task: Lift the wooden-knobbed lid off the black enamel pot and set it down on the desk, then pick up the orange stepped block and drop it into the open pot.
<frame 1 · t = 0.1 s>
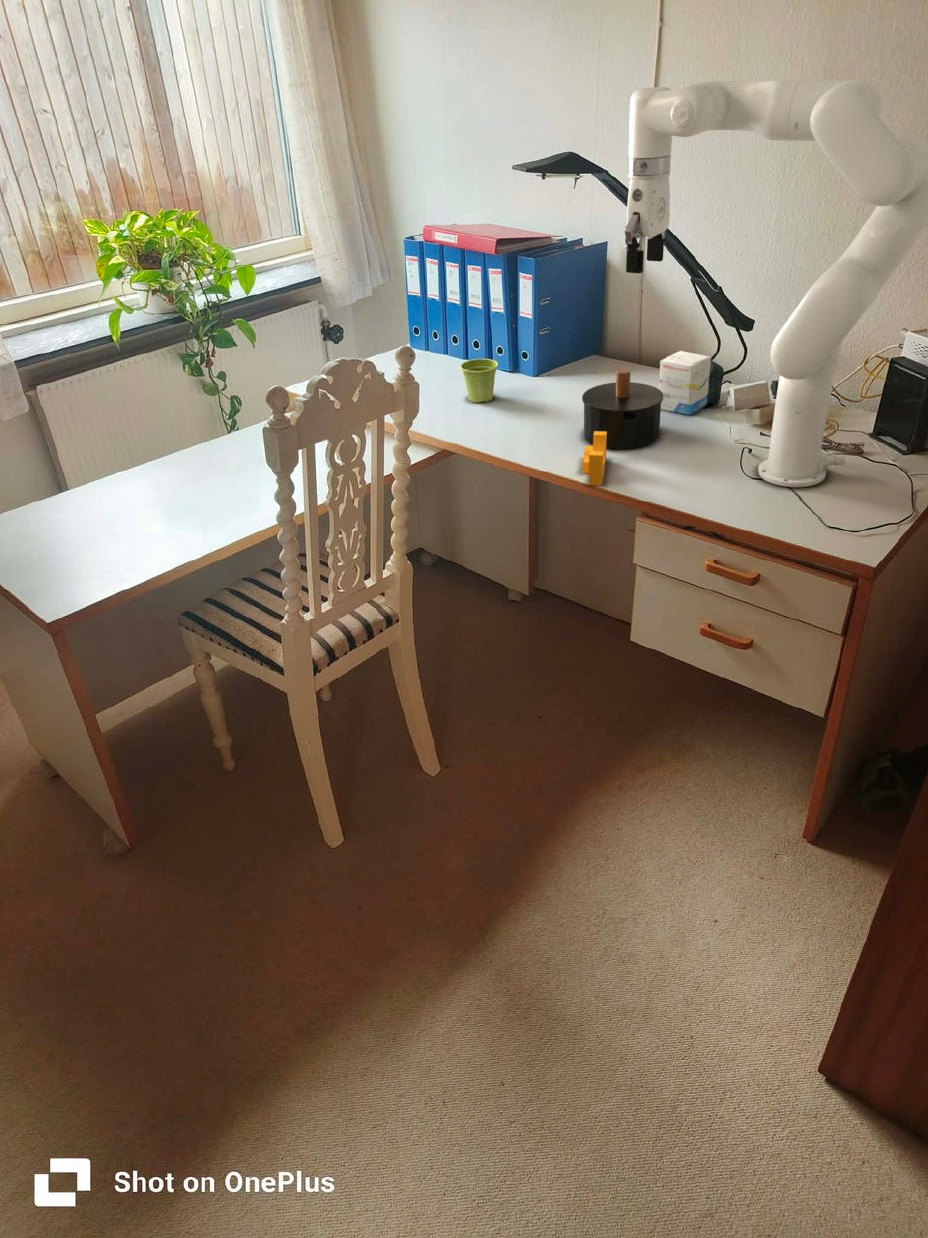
hand: (644, 266, 167), 37 cm above the table, tool pointing down, fingers open, 9 cm apart
ink box: (682, 407, 206), on the table
pot: (621, 435, 195), on the table
lid: (622, 398, 190), point 8 cm above the table, touching pot
orange stepped block: (593, 473, 180), on the table
plant pot: (481, 399, 220), on the table
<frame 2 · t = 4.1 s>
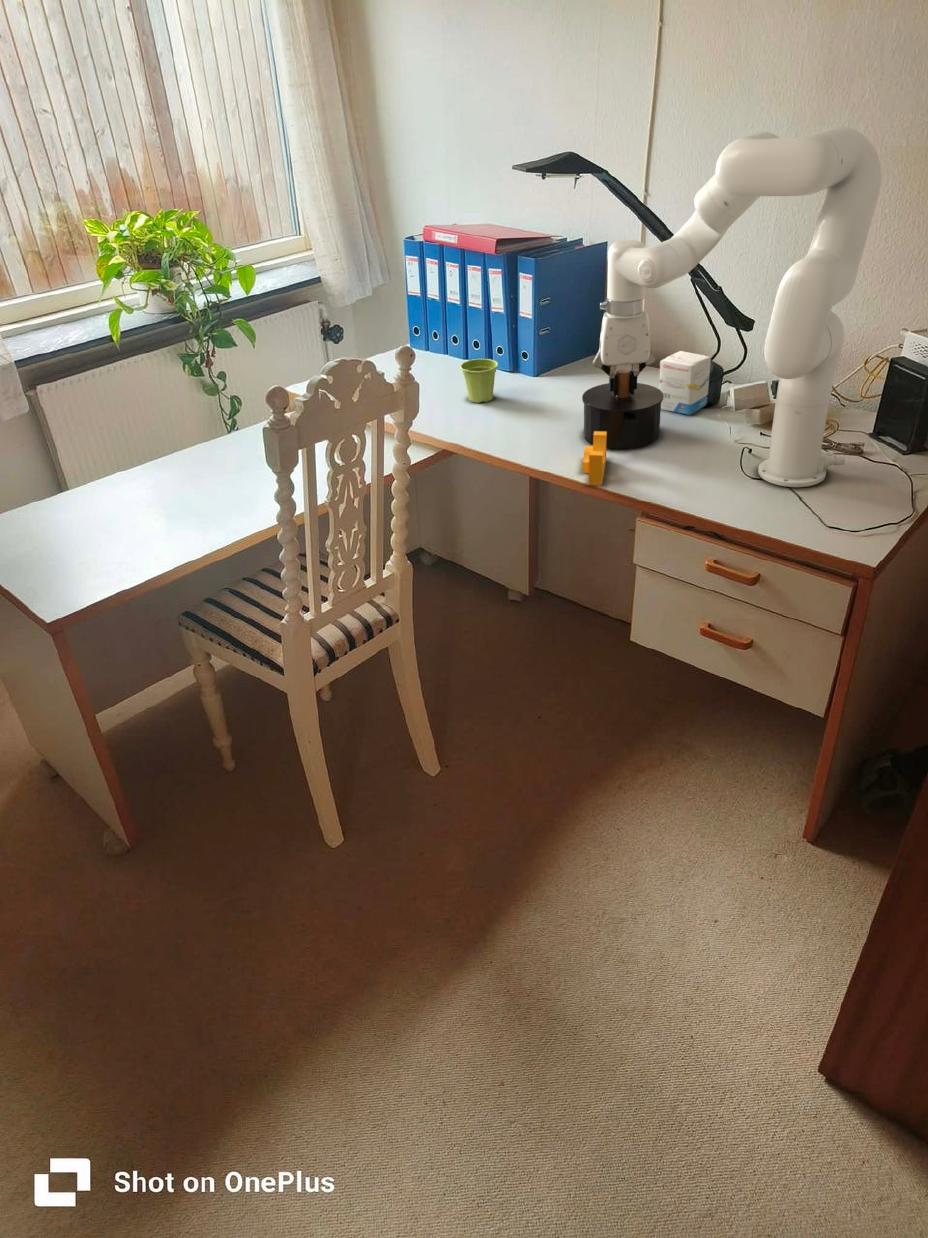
hand: (622, 392, 189), 10 cm above the table, tool pointing down, fingers closed on lid, 3 cm apart
lid: (622, 398, 190), point 9 cm above the table, touching gripper, pot
everything else where it was.
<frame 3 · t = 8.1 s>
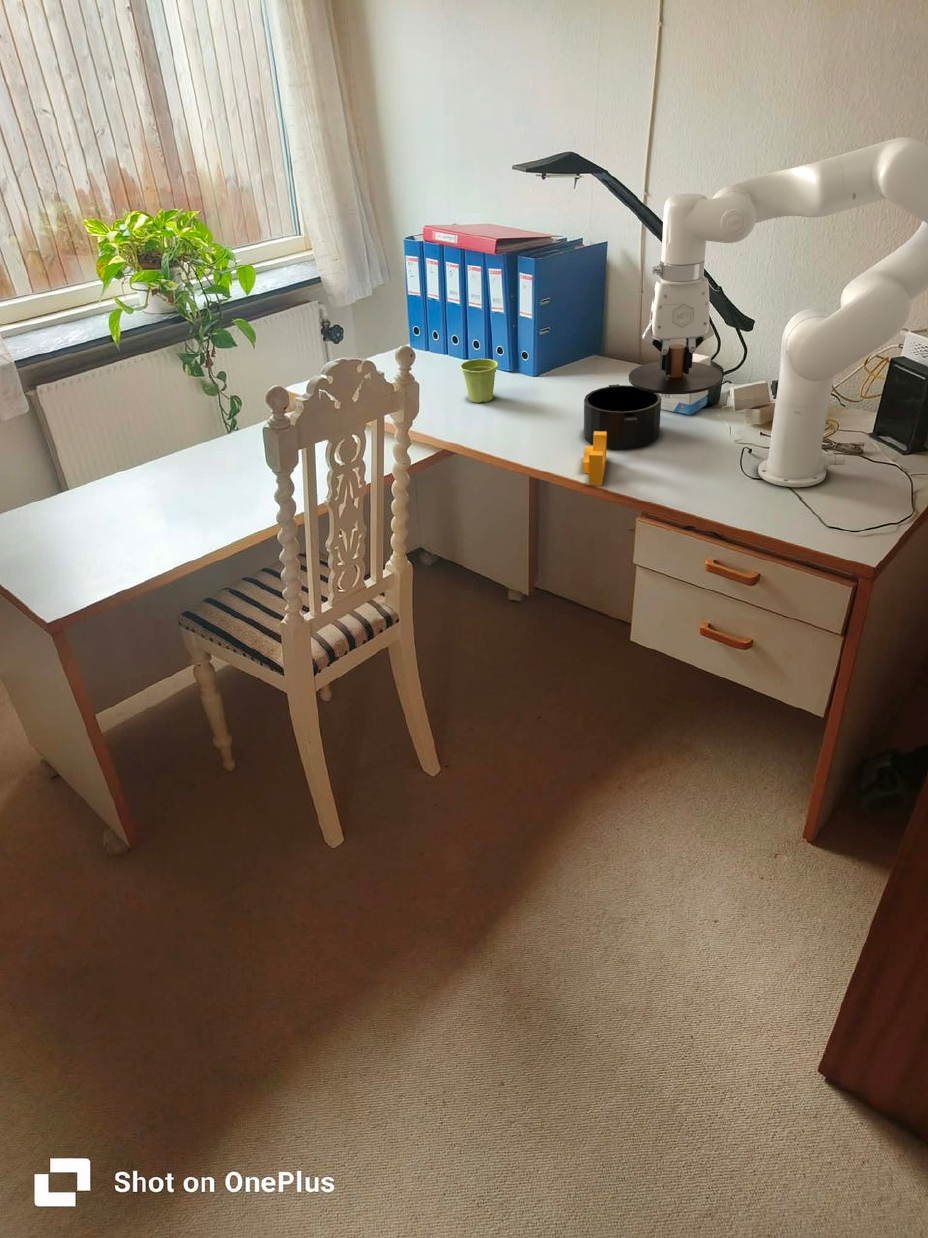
hand: (675, 371, 166), 21 cm above the table, tool pointing down, fingers closed on lid, 3 cm apart
lid: (674, 378, 166), point 20 cm above the table, touching gripper
everything else where it was.
when the fingers open (2 cm above the table, at t = 12.4 s): lid stays where it is, point 1 cm above the table.
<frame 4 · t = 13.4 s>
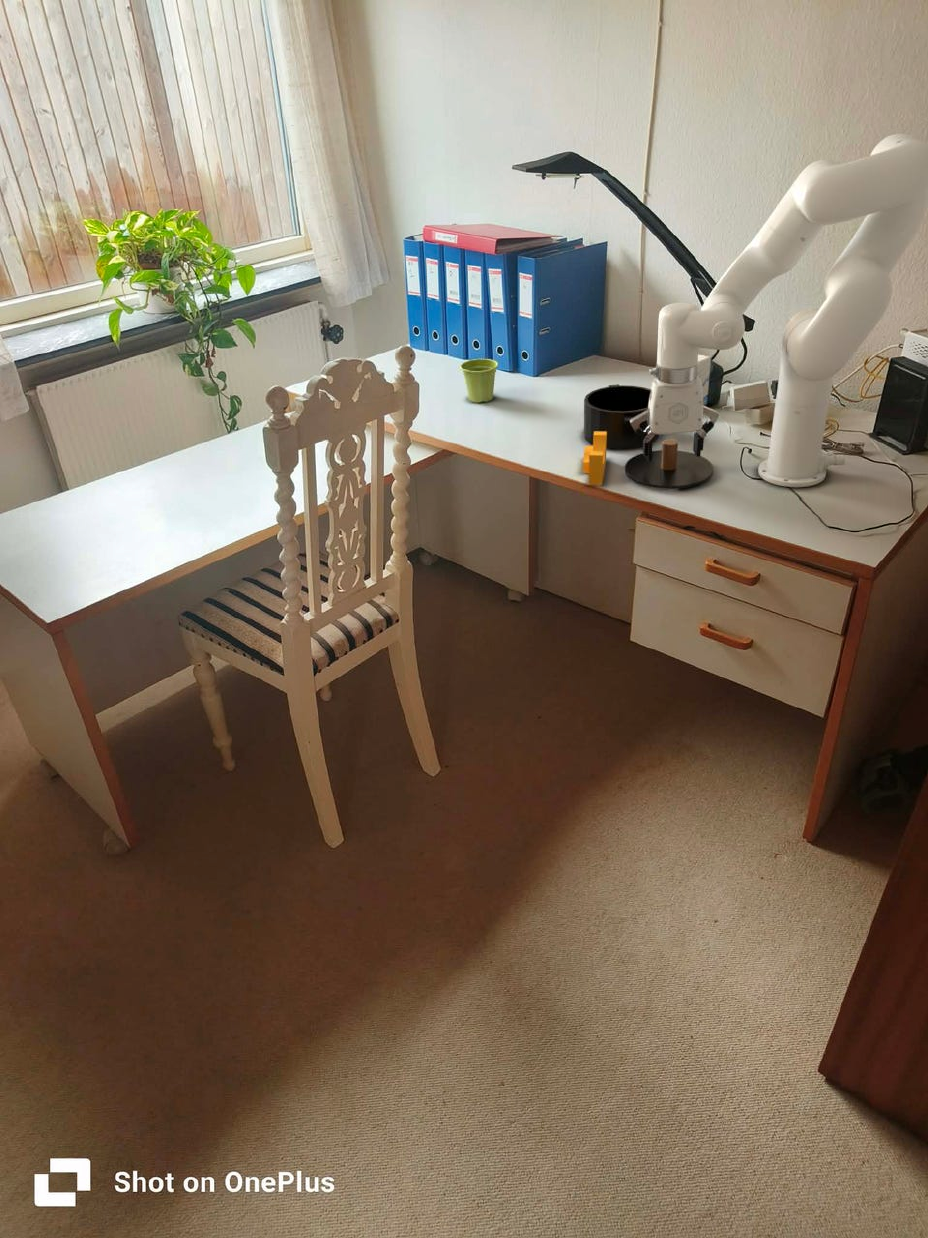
hand: (672, 456, 175), 4 cm above the table, tool pointing down, fingers open, 9 cm apart
lid: (668, 469, 177), point 1 cm above the table
everything else where it was.
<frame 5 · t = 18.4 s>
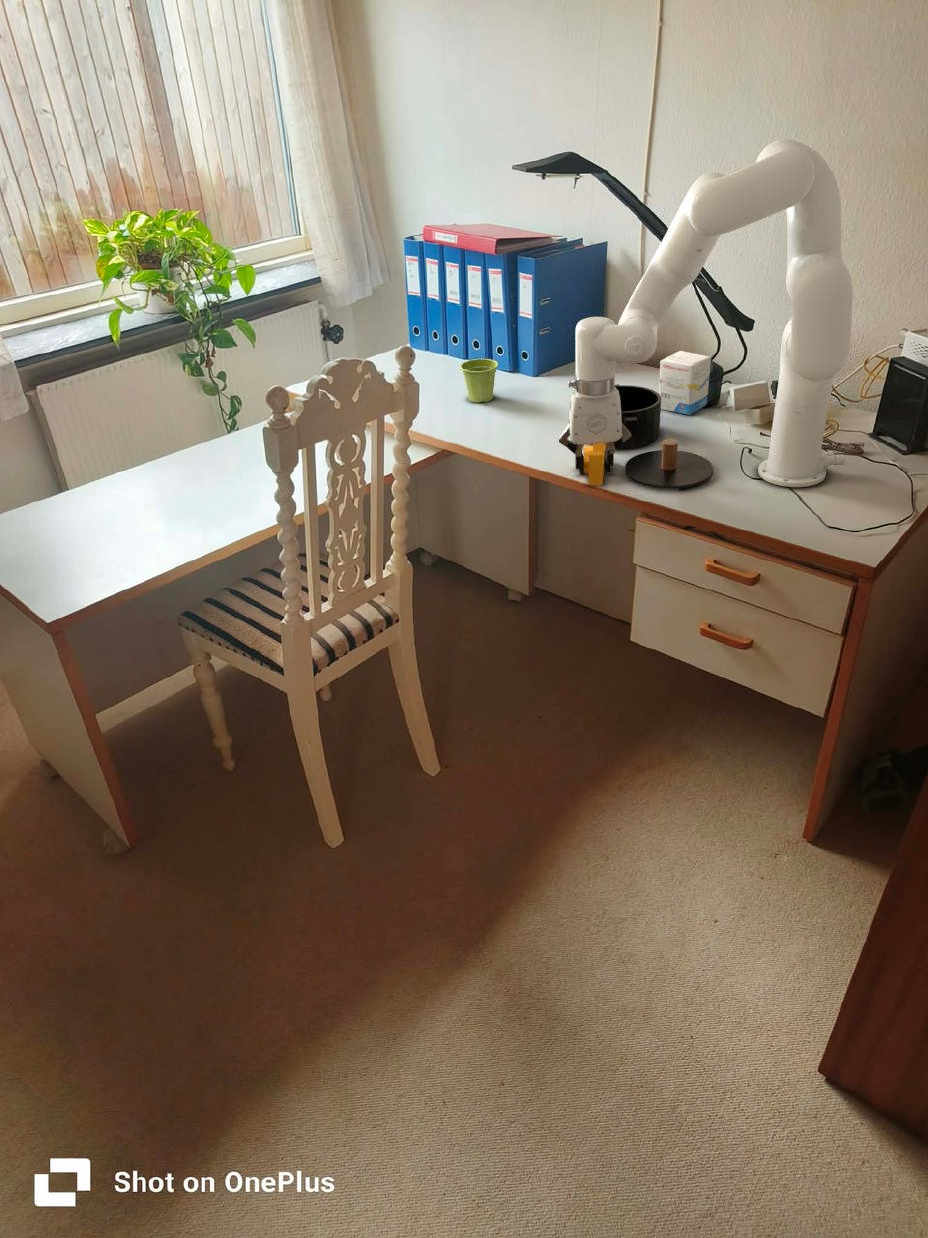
hand: (594, 469, 179), 1 cm above the table, tool pointing down, fingers closed on orange stepped block, 4 cm apart
orange stepped block: (593, 473, 180), on the table, touching gripper
everything else where it was.
when the fingers open (6 cm above the table, at t = 26.1 s): orange stepped block drops 5 cm, resting on pot.
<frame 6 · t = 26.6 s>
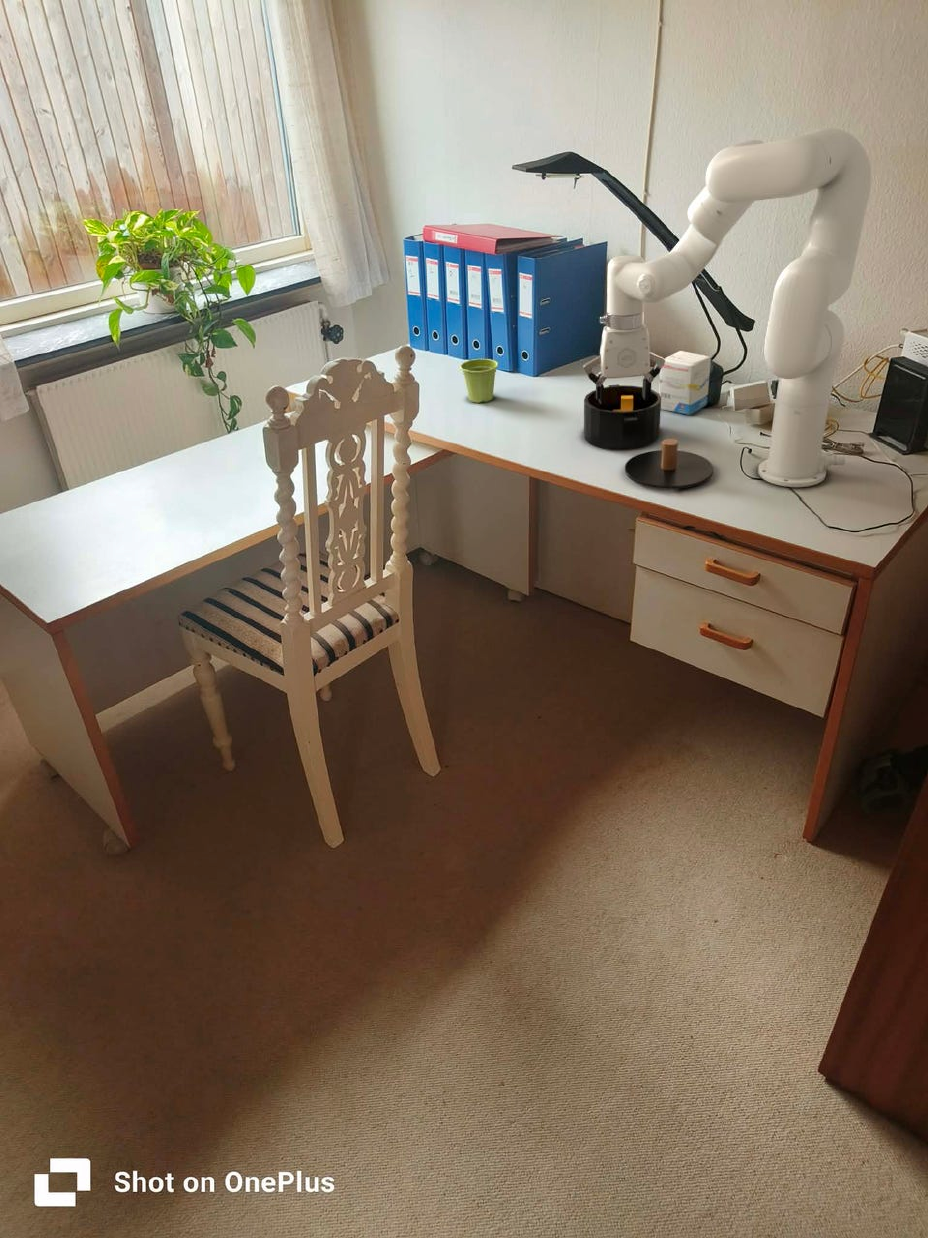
hand: (623, 400, 190), 8 cm above the table, tool pointing down, fingers open, 9 cm apart
orange stepped block: (622, 434, 194), resting on pot
everything else where it was.
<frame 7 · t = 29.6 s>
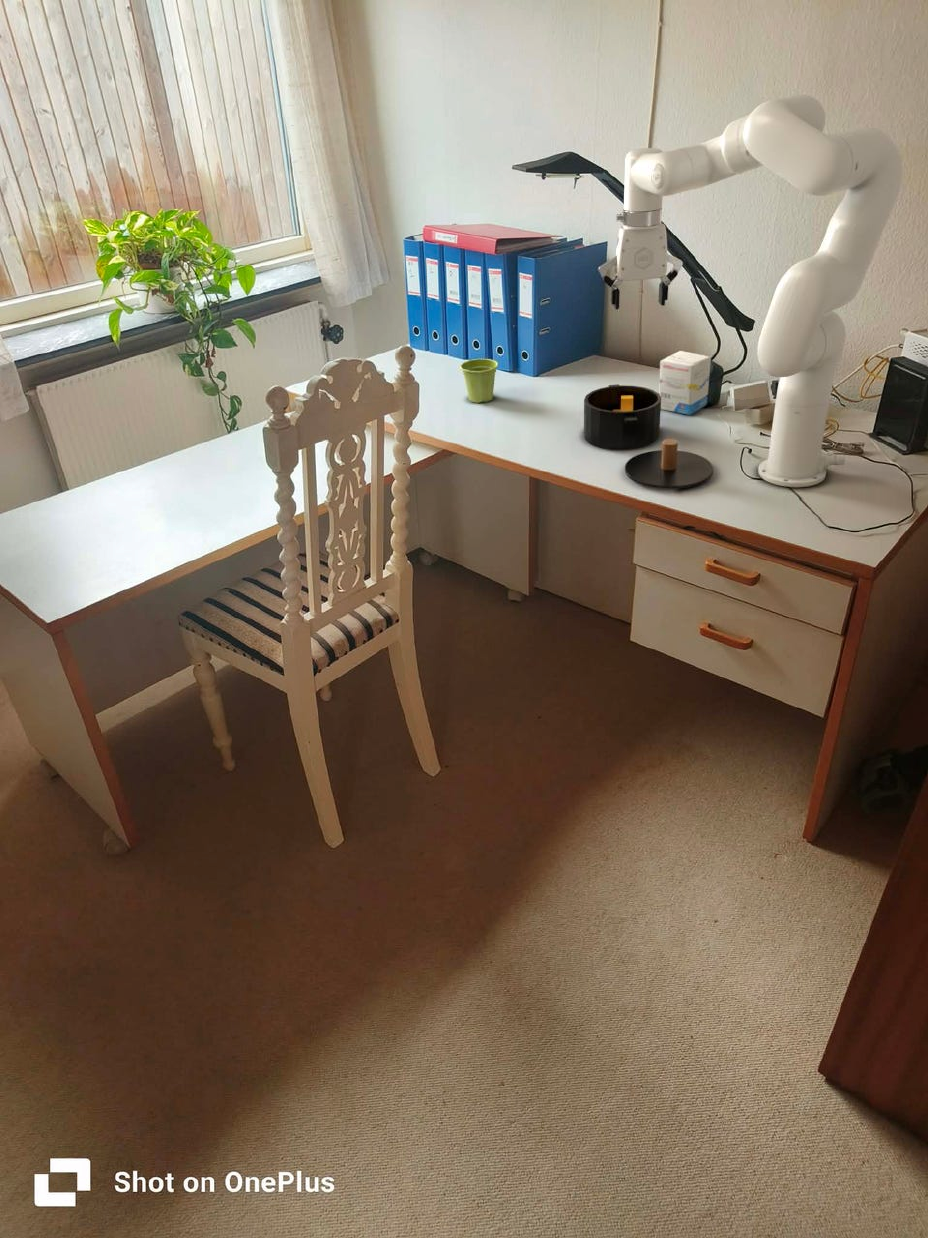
hand: (638, 305, 185), 26 cm above the table, tool pointing down, fingers open, 9 cm apart
nothing on the table moved.
at the end: lid inside the target area (0.2 cm from its centre), point 0.6 cm above the table; orange stepped block inside the target area in the pot (0.3 cm from its centre), point 0.3 cm above the pot's base; the gripper is holding nothing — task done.
